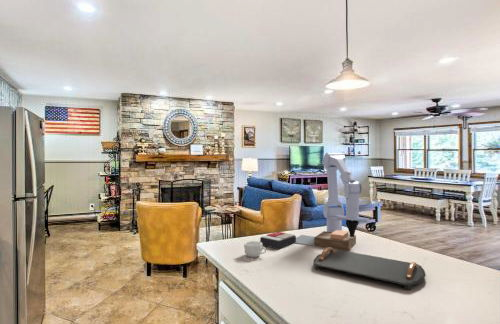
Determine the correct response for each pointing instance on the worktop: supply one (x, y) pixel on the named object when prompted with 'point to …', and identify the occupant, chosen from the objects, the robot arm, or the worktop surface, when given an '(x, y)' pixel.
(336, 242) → the brown flat block
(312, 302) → the worktop surface
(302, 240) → the mat
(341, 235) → the peach upright slab
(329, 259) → the serving board
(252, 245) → the teacup
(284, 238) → the calculator
